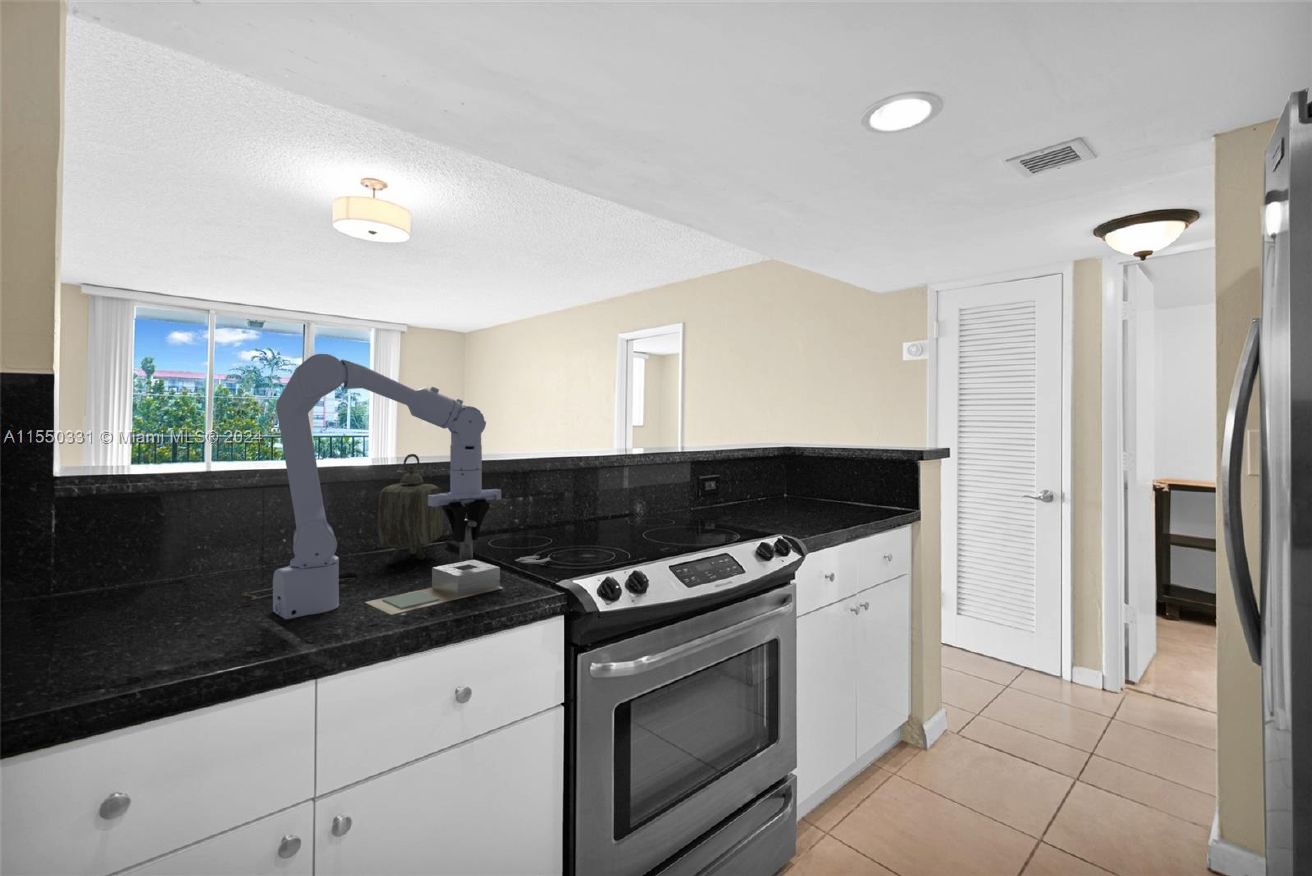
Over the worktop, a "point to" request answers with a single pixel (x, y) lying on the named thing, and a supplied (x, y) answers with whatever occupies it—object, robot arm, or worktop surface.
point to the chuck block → (465, 578)
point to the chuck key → (467, 540)
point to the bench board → (394, 610)
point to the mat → (410, 600)
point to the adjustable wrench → (532, 560)
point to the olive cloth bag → (409, 514)
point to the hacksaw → (253, 597)
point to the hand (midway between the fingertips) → (466, 540)
